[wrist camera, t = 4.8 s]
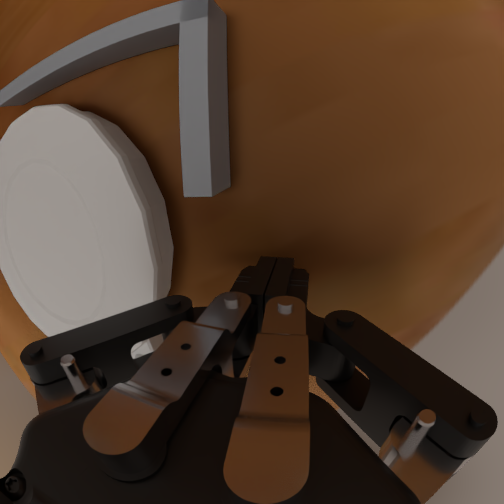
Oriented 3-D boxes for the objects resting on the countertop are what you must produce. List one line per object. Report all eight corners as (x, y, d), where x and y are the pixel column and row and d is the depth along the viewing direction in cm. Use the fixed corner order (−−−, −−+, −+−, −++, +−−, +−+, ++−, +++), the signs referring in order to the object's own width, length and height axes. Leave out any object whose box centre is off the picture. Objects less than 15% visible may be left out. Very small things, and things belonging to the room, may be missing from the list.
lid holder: (23, 90, 13) (-1, 91, 11) (226, 15, 10) (208, -6, 8) (83, 371, 23) (69, 387, 20) (244, 417, 19) (236, 442, 17)
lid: (75, 360, 23) (58, 378, 20) (-2, 164, 17) (-27, 171, 14) (236, 369, 18) (223, 402, 15) (135, 53, 12) (101, 41, 9)
